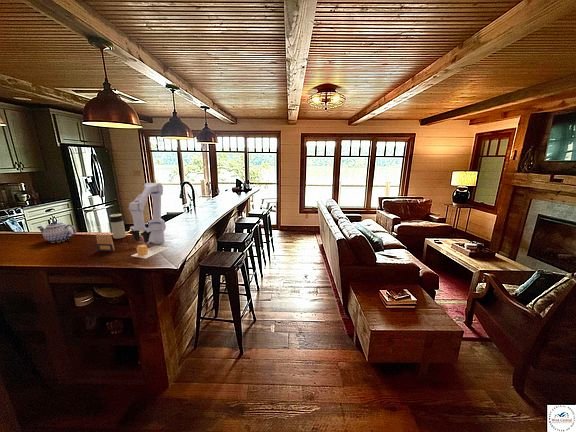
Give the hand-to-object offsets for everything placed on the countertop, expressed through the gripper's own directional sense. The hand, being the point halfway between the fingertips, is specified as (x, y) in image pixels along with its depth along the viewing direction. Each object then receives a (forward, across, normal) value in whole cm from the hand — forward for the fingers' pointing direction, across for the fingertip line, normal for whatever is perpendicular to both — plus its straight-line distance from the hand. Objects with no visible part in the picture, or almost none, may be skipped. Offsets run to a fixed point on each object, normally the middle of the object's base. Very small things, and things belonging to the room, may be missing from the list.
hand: (142, 241), depth 144 cm
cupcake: (+8, 0, -1) cm, 8 cm away
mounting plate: (+9, +2, +3) cm, 10 cm away
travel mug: (+10, -48, +19) cm, 53 cm away
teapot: (+10, -83, -1) cm, 83 cm away
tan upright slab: (+10, -30, -3) cm, 32 cm away
